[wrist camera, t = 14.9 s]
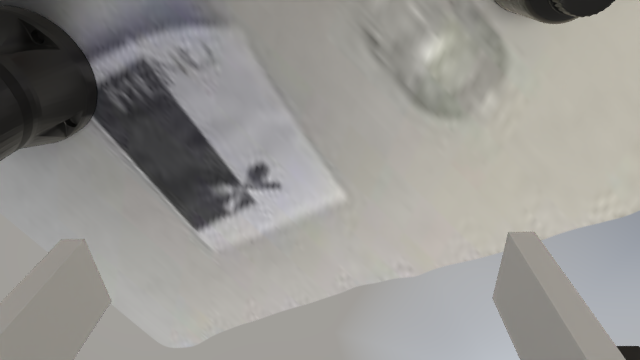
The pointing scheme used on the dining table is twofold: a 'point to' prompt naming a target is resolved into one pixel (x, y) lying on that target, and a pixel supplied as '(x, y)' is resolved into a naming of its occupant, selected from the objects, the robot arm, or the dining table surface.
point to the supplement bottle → (554, 9)
